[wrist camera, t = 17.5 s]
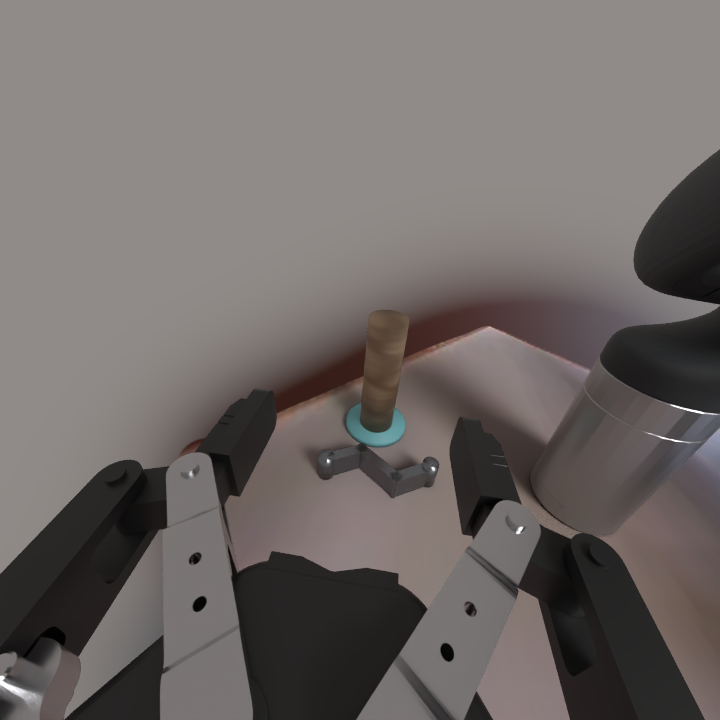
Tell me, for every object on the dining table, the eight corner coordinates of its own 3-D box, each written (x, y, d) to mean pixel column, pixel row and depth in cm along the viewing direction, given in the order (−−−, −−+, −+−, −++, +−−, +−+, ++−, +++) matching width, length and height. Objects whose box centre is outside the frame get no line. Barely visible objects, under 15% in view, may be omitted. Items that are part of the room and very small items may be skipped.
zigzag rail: (430, 463, 37) (435, 445, 36) (437, 501, 33) (443, 484, 31) (321, 455, 37) (321, 437, 36) (314, 492, 33) (314, 474, 31)
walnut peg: (386, 408, 44) (401, 309, 36) (396, 430, 41) (415, 326, 32) (356, 411, 43) (364, 310, 35) (364, 434, 40) (374, 328, 31)
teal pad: (393, 402, 47) (394, 398, 46) (413, 442, 40) (414, 438, 40) (341, 407, 45) (341, 403, 45) (352, 451, 38) (352, 447, 38)
